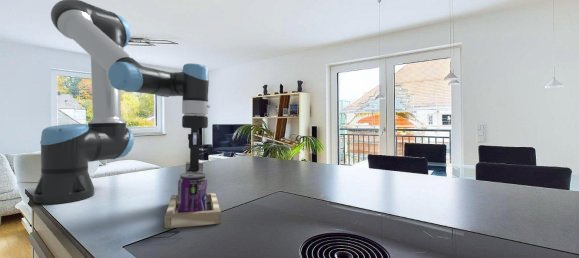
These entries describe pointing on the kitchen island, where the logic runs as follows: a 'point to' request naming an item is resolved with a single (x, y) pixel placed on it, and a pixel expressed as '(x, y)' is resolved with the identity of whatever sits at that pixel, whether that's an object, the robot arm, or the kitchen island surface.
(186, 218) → the can sled
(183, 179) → the beverage can
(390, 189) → the kitchen island surface
